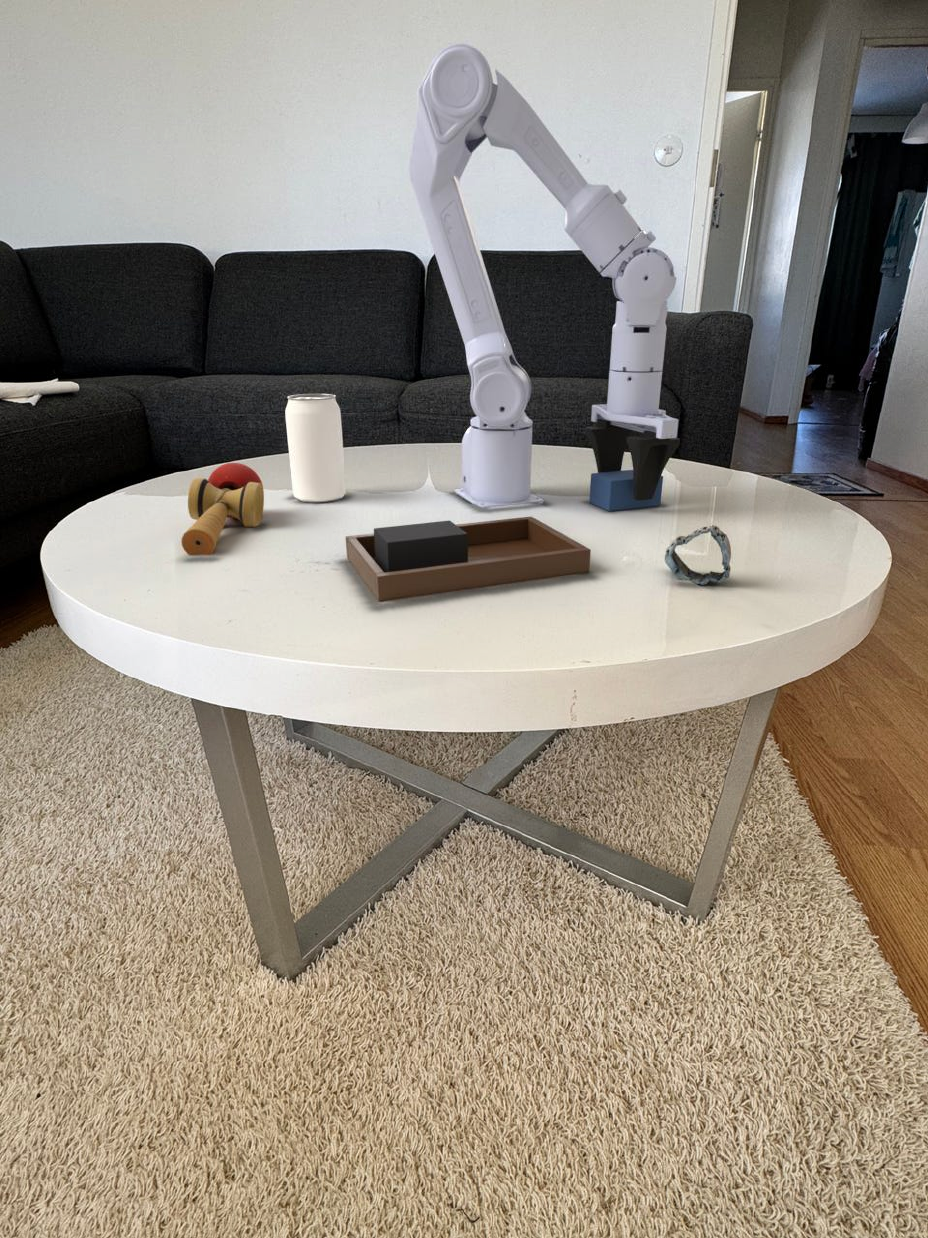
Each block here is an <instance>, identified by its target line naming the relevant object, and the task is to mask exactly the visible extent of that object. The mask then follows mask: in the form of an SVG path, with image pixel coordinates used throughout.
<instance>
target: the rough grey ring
mask: <svg viewBox="0 0 928 1238" xmlns="http://www.w3.org/2000/svg"><path fill="white" fill-rule="evenodd" d="M708 533H710V536H711V537H712V538H713V540H714V541H715V542H716V543H717V544H718V547H719V548H720V553H721V557H722V559H721V560H722V561H721V566H723V568H722V569H723V570H724V571H722V572H718V571H712V570H711V571H710V572H705V573H700V572H697V571H694V570H693V569H691V568H689V566H688V565H687V564H686V563H685V562H684V561H683V560H682V559H681V557H680V555H678V554H677V551H676V548H677V546H683V545H687V544H688V543H689V542H691V541H692V540H693V539H694V538H697V537H699V536H700V535H705V534H708ZM665 550H666V551H665V554H664V563H665V564H666V566H667V567H668V568H669V570H670V571H671V573H672V574H673V575H674V576H675V578H677V580H679V581H680V580H683V581H690V582H691V583H693V584H695V585H701V586H704V585H707V584H708V583H709V581H710V582H713V583H719V584H721V583H723V582H725V581H726V580H727V579H729V578H730V576H731V564H730V563H731V559H732V546H731V543H730V540H729V537H728V535H727V534H726V533H724V531H723V530H721V528H720V527H718V526H717V525H715V524H712V525H708V526H702V527H700V528H698V529H696V530H694V531H693V532H691V533H689V534H688V535H686V536H685V535H678V536H677V537H675V539H674V540H673V541H672V542H671V544H670V545H669V546H668V547H666V548H665Z"/></svg>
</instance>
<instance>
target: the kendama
mask: <svg viewBox="0 0 928 1238" xmlns="http://www.w3.org/2000/svg"><path fill="white" fill-rule="evenodd" d="M264 491H265V490H264V485H263V481H262V480H261V477H260V476H259V475H258V473H257V472H256V471H255V470H254V469H253V468H251V467H250V466H248V465H247V464H244V463H240V462H229V463H223V464H221V465H220V466H217V467H216V468H215V469H214V470H213V471H212V472H211V473H210V475H209V477H208V479H207V478H205V477H195V478H194V479H192V481H191V483H190V485H189V489H188V495H187V510H188V514H189V516H190V518H191V519H192V520H196V521H195V522H194V523H193V524H192V525H191V526H190V527H189V528H188V529H187V530H186V531H185V532H184V533H183V535H182V537H181V540H180V541H181V546H182V548H183V550H184V552H185V553H186V554H187V555H189V556H194V555H196V556H197V555H213V553H214V551H215V548H216V546H217V544H218V540H219V538H220V535H221V534H222V531H223V530H224V526H225V525H226V522H227V518H229V519H237V520H238V521H239V522H241V524H242V525H243V526H244V527H245V528H246V527H249V528H255V527H257V526H260V524H261V521H262V518H263V513H264V506H265V505H264V504H265V492H264Z"/></svg>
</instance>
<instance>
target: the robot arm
mask: <svg viewBox="0 0 928 1238" xmlns="http://www.w3.org/2000/svg"><path fill="white" fill-rule="evenodd" d="M494 72H495V76H496V84H495V82H494V79H493V74H492V70H491V66H490V64H489V62H488V60H487V59H486V57H485V56H484V54H483V53H482V52H481V51H480V50H479V49H477V48H476V47H474V46H473V45H470V44H467V43H454V44H453V43H452V44H450V45H448V46H446V47H444V48H443V49H442V50H441V51H439V52H438V53H437V54H436V55H435V57H434V58H433V60H432V61H431V63H430V64H429V67H428V69H427V71H426V73H425V74H424V77H423V79H422V81H421V83H420V85H419V87H418V88H417V110H416V117H415V118H416V119H415V126H414V132H413V138H412V146H411V149H410V157H409V163H408V173H409V179H410V182H411V185H412V188H413V191H414V194H415V197H416V200H417V203H418V207H419V210H420V212H421V216H422V218H423V222H424V225H425V227H426V231H427V234H428V238H429V240H430V243H431V247H432V249H433V252H434V256H435V259H436V262H437V265H438V268H439V271H440V274H441V277H442V281H443V283H444V287H445V289H446V291H447V292H446V293H447V295H448V299H449V302H450V304H451V308H452V310H453V313H454V317H455V320H456V323H457V326H458V329H459V332H460V335H461V338H462V342H463V344H464V348H465V349H464V350H465V356H466V357H465V358H466V365H467V368H468V372H469V376H470V380H471V386H470V393H469V400H470V406H471V409H472V411H473V413H474V414H475V416H473V417H471V419H470V423H469V425H470V426H469V427H468V428H467V430H466V431H465V433H464V435H463V436H462V439H461V488H455V489H454V493H455V494H456V495H457V496H460V497H461V498H463V499H464V500H465V501H467V502H469V503H471V504H472V505H477V506H478V507H479V508H495V507H504V506H515V505H522V504H523V505H525V504H534V503H537V504H540V505H542V504H544V499H543V498H541V497H539V496H538V495H536V494H533V493H531V489H532V488H531V482H532V455H533V454H532V453H533V452H532V451H533V419H530V417H528V415H527V414H526V412H525V410H526V408H527V405H528V403H529V401H530V398H531V395H532V382H531V379H530V376H529V374H528V372H527V371H526V370H525V369H524V368H523V367H522V366H521V365H520V364H519V363H518V361H517V359H516V357H515V355H514V351H513V348H512V346H511V343H510V340H509V339H508V336H507V333H506V331H505V327H504V324H503V321H502V318H501V314H500V311H499V308H498V305H497V302H496V298H495V295H494V291H493V288H492V285H491V282H490V279H489V275H488V271H487V269H486V266H485V263H484V258H483V255H482V252H481V249H480V245H479V242H478V239H477V235H476V233H475V230H474V227H473V223H472V220H471V217H470V213H469V210H468V206H467V204H466V203H467V202H466V199H465V196H464V193H463V190H462V186H461V183H460V181H461V178H462V176H463V174H464V171H465V169H466V167H467V165H468V163H469V161H470V159H471V157H472V154H473V152H475V151H476V150H477V148H479V146H481V145H482V144H483V142H484V141H485V140H488V143H489V144H490V147H491V146H492V147H495V148H501V149H505V150H511V151H513V152H515V153H516V154H517V155H518V156H519V158H520V159H521V160H522V161H523V162H524V163H525V165H526V166H527V167H528V168H529V169H530V170H531V171H532V173H533V174H534V175H535V176H536V177H537V178H538V179H539V181H540V182H541V183H542V184H543V185H544V187H546V189H547V190H548V191H549V192H550V194H551V195H552V196H553V197H554V198H555V199H556V200H557V202H559V203H560V205H561V206H562V207H563V208H564V209H565V215H564V217H565V218H564V231H565V233H566V234H567V235H568V236H569V238H571V240H572V241H573V242H574V244H575V245H576V246H577V247H578V248H579V250H580V251H581V252H582V253H583V254H584V256H585V257H586V258H587V259H588V260H589V262H590V263H591V264H592V266H593V267H594V268H595V269H596V271H597V272H598V273H600V275H601V276H602V277H603V278H606V277H608V278H611V279H612V291H613V295H614V296H615V298H616V299H618V300H619V301H618V300H617V301H616V309H615V321H614V324H613V326H612V331H611V333H612V334H611V346H610V358H609V359H610V360H609V371H608V386H607V402H606V404H605V403H604V404H603V403H602V404H592V405H591V416H590V419H591V420H590V422H593V423H595V425H594V426H593V425H591V426H586V427H585V430H584V431H585V435H586V436H587V438H588V441H589V443H590V445H591V448H592V452H593V454H594V459H595V464H596V469H597V473H601V472H613V471H622V467H623V462H624V461H623V460H624V455H625V451H626V448H627V445H628V449H629V452H630V456H631V457H630V458H631V462H632V463H631V464H632V470H633V495H634V499H635V500H637V501H640V500H650V499H653V496H654V493H655V491H656V488H657V485H658V482H659V480H660V477H661V476H662V475H663V473H664V470H665V469H666V466H667V464H668V463H669V460H670V459H671V457H672V455H674V453H675V451H676V450H677V449H678V448H679V446H680V441H681V439H680V438H679V437H678V429H679V419H678V418H674V417H671V416H669V415H667V414H666V413H667V411H666V410H664V409H660V399H661V398H660V397H661V390H662V389H661V388H662V379H663V368H664V359H665V349H666V339H667V330H668V329H667V328H668V327H667V324H666V319H667V317H668V310H669V309H668V299H669V298H670V296H671V295H672V293H673V291H674V289H675V287H676V283H677V277H676V276H675V271H674V264H673V262H672V260H671V259H670V257H669V256H668V255H667V253H665V252H664V251H662V250H661V249H659V248H655V247H650V246H651V245H652V244H653V243H654V241H656V235H655V234H654V233H653V232H652V231H651V230H649V231H648V232H647V233H646V232H645V230H643V228H642V226H641V225H640V224H639V222H638V221H637V220H636V219H635V217H634V216H633V215H632V213H630V211H629V210H628V208H626V206H625V205H624V204H625V203H627V200H628V198H627V196H626V195H625V193H623V191H622V190H621V189H617V190H615V192H614V191H613V190H612V189H611V187H610V186H609V185H608V184H591V183H589V182H587V180H586V179H585V177H584V176H583V175H582V173H581V171H579V169H578V168H577V166H576V165H575V164H574V163H573V161H572V160H571V159H570V157H569V155H567V153H566V152H565V150H564V149H563V148H562V147H561V145H560V144H559V142H558V141H557V139H556V138H555V137H554V135H553V134H552V132H550V130H549V129H548V128H547V126H546V125H545V123H544V122H543V121H542V119H541V118H540V117H539V116H538V114H537V112H535V110H534V109H533V107H532V106H531V105H530V103H529V102H528V101H527V100H526V98H525V97H523V96H522V94H521V93H520V92H519V91H518V90H517V89H516V88H515V87H514V85H513V84H512V83H511V82H510V81H509V80H508V79H507V78H506V77H505V76H504V75H503V74H502V73H501V72H500V71H499V70H497V68H495V69H494ZM633 431H635V432H639V433H643V434H642V435H633V436H631V435H632V433H633Z"/></svg>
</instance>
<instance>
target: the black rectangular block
mask: <svg viewBox="0 0 928 1238" xmlns="http://www.w3.org/2000/svg"><path fill="white" fill-rule="evenodd" d="M373 533H374V543H375V561H376V563H377V564H378V565H379V567H380V568H381V569H382V570H383V571H384V573H386V572H394V571H402V570H410V569H418V568H426V567H434V566H442V565H449V564H457V563H465V562H468V534H467V533H466V532H465V531H463V530H462V529H461V528H459V527H458V526H457V524H456V523H454V522H453V521H451V520H441V521H431V522H421V523H412V524H402V525H394V526H383V527H374V528H373Z"/></svg>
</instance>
